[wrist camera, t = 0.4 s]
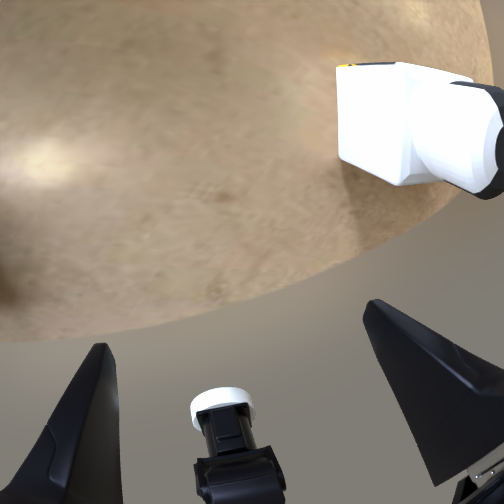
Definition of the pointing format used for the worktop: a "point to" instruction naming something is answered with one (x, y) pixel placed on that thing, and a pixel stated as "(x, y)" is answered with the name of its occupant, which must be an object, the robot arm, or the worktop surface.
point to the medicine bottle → (421, 126)
